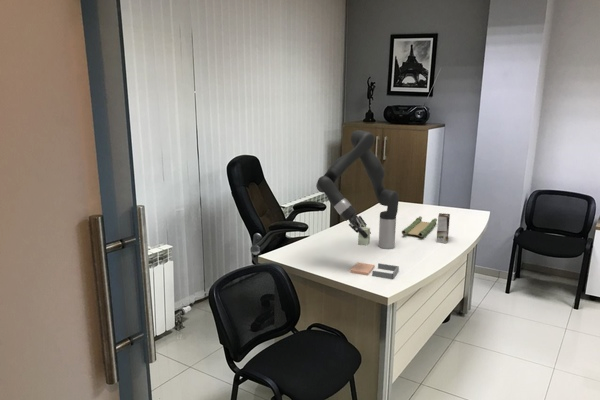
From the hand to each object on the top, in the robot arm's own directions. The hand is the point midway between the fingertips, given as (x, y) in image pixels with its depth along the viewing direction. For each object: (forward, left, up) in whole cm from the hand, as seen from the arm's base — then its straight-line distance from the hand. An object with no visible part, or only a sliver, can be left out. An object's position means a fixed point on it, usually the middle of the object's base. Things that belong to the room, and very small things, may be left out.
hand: (367, 235), depth 221 cm
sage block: (0, -2, -4) cm, 5 cm away
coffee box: (-66, +28, -18) cm, 74 cm away
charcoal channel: (0, +9, -18) cm, 20 cm away
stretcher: (-82, +12, -19) cm, 85 cm away
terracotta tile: (0, -2, -18) cm, 18 cm away
